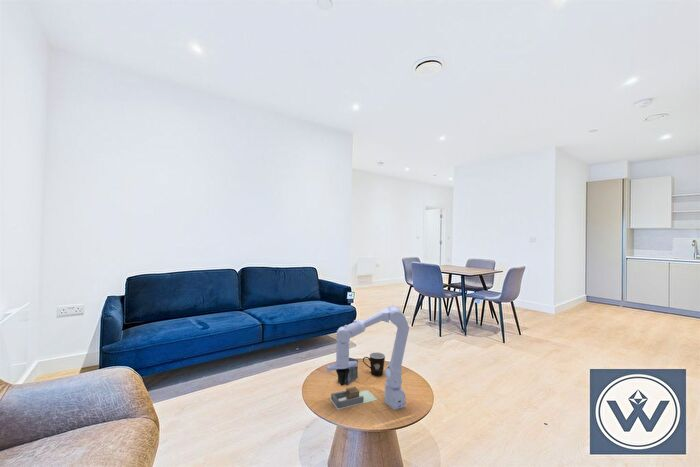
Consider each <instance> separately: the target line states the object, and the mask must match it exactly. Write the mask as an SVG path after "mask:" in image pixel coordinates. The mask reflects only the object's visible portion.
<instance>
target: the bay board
mask: <svg viewBox="0 0 700 467" xmlns="http://www.w3.org/2000/svg"><path fill="white" fill-rule="evenodd" d="M330 396H331V397H330V398H329V400H330V402H332V404H333V405H334V407H335V408H336V410H342V409H347V408H350V407H354V406H358V405H362V404H366V403H369V402H373V401H377V400H378V398H376V397H375V395H373V394H372V393H371V391H369V390H368V389H365V390H362V391H359V397H355V398H351V399H347V398H346V390H342V391H337V392H332V393H331V394H330Z"/></svg>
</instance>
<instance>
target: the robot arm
mask: <svg viewBox="0 0 700 467" xmlns="http://www.w3.org/2000/svg"><path fill="white" fill-rule="evenodd" d="M380 322H384V323H390V322H391V323H392V324H393V325H395V327H396V328H397V329H396V334H395V338H394V343H393V348H392V353H391V358H390V360H389V362H388V364H387V367H386V368H385V370H384V375H385V378H386V381H385V382H384V403H385V404H386V405H387V406H389V407H390V408H391V409H392V410H394V411H395V410H400V409H403V408H405V407H406V393H405V391H404V390H403V389H402V388H403V387H402V384H403V379H402V364H403V359H404V355H405V350H406V345H407V341H408V340H407V339H408V336H409V331H410V326H409V323H408V321H407V318H406V315H405V314H404V313H403V312H402V311H401V309H399V308H398V306H396V305H390V306H388V307H385V308H383V309H382V310H380V311H378V312H376V313H374V314H372V315H371V316H368V318H366V319H363V320H361V319H358V320H357V319H354V320H353V322H352V323H349V324H345V325H343V326H340V327H339V328H338V329H337V330H336V339H337V340H336V355H335V356H336V358H335V361H336V362H335V363H332V364H330V365H326V371H327V372H328V373H330V372H332V371H335V372H336V374H337V378H338V377H339V382H340V383H339V382H338V383H339V385H340V386H341V387H342V386H345V384H344V383H345V380H346V377H347V375H348V373H349V369H348V368H349V367H354V366H355V367H357V365H358V364H359V362H358V363H357V362H356V361H349V358H350V340H351V339H352V338H354V337H356V336H358V335H360V334H362V333H364V332H365V331H366V329H367V328H368V327H371V326H373V325H375V324H378V323H380Z"/></svg>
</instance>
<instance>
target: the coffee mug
mask: <svg viewBox="0 0 700 467" xmlns="http://www.w3.org/2000/svg"><path fill="white" fill-rule="evenodd" d="M365 359H368V360H369V362H370V363H369V364H370V365H368V364H367V363H366V362H365ZM385 359H386V355H385V354H384V353H382V352H372V353H370V354H369V356H364V357H363V358H362V362H363V365H364V364H365V366H366V367H368V368H369V369H370V374H371V375H372V376H375V377H380V376H381V377H382V376H383V372H384V366H385Z"/></svg>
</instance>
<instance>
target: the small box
mask: <svg viewBox="0 0 700 467" xmlns="http://www.w3.org/2000/svg"><path fill="white" fill-rule="evenodd" d="M349 361H356V362H357V363H358V364H359V360H358V359H356V358H353V357H349ZM348 369H349V373H348V375H347V377H346V380H345V383H344V386H345V385H346V386H349V385H350V384H352V383H353V382H354V381H355V380H356V379H358V377H359V376H358V373H359V371H358V369H359V366H358V365H357V367H355V366H354V367H349V368H348ZM337 382H338V383H339V384H340V382H339V377H338V376H337Z"/></svg>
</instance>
